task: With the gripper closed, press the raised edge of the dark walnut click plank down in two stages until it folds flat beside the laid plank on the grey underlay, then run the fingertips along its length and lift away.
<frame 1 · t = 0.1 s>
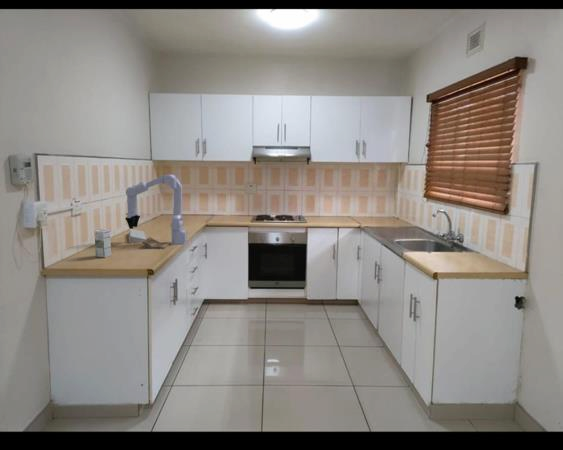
hand: (133, 227, 250), 10 cm above the counter, fingers open, 7 cm apart
laid plank: (162, 246, 241), resting on underlay
decorative molding: (137, 239, 270), on the counter
click plank: (151, 242, 241), point 3 cm above the counter, hinge at 28.0°
underlay: (156, 246, 241), on the counter
syrup box: (103, 256, 214), on the counter
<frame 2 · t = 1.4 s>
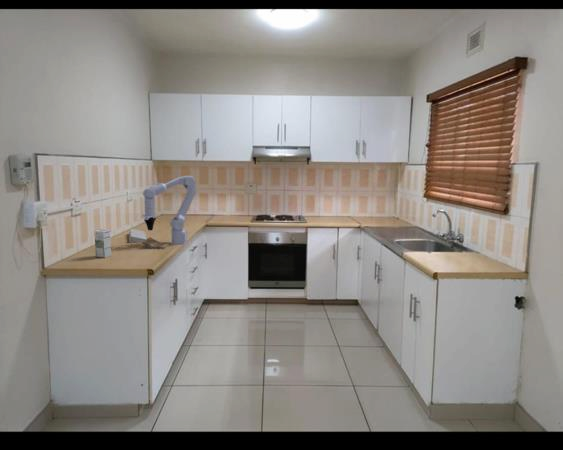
hand: (150, 230, 243), 10 cm above the counter, fingers closed
nothing on the counter moved.
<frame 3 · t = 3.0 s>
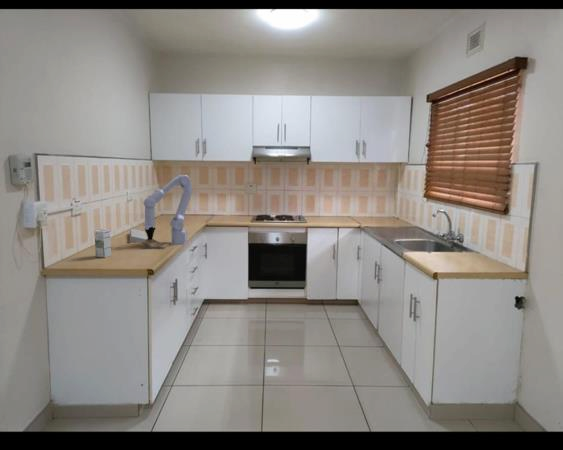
hand: (150, 239, 243), 4 cm above the counter, fingers closed, pressing on click plank
click plank: (151, 242, 241), point 3 cm above the counter, hinge at 26.0°, touching gripper
everything else where it was.
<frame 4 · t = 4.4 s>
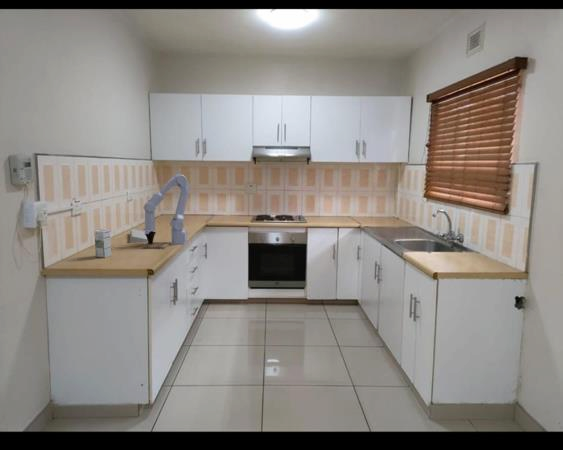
hand: (150, 243, 244), 1 cm above the counter, fingers closed, pressing on click plank
click plank: (151, 245, 241), point 1 cm above the counter, hinge at -0.1°, touching gripper, underlay
everything else where it was.
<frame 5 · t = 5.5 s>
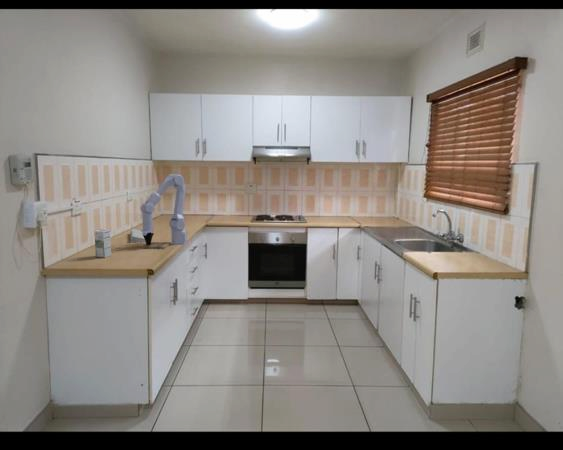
hand: (148, 245, 239), 1 cm above the counter, fingers closed, pressing on click plank
click plank: (151, 245, 241), point 1 cm above the counter, hinge at -0.1°, touching gripper, underlay
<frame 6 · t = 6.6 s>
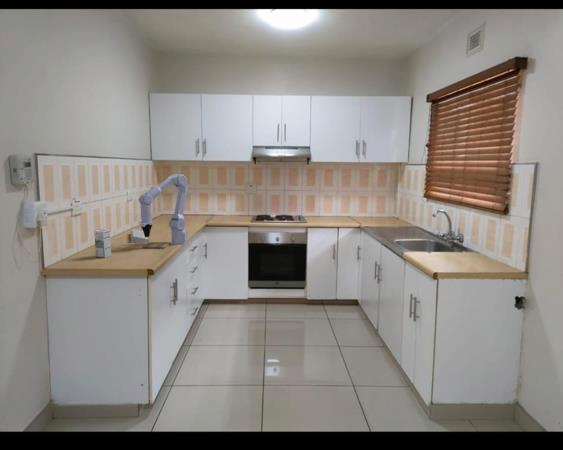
hand: (147, 237, 236), 7 cm above the counter, fingers closed
click plank: (151, 245, 241), point 1 cm above the counter, hinge at -0.1°, touching underlay
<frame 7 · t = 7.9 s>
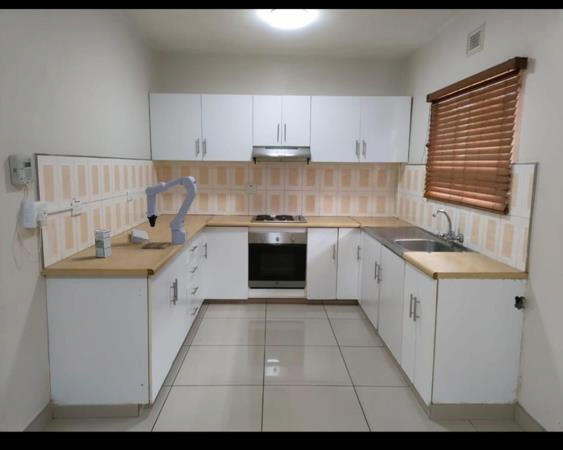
hand: (152, 226, 252), 10 cm above the counter, fingers closed
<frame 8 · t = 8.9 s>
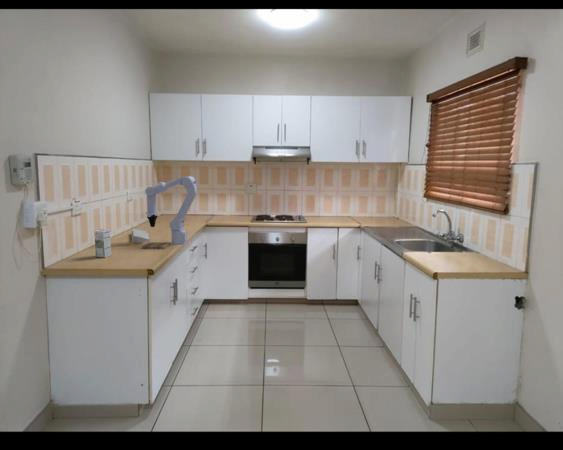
hand: (152, 226, 252), 10 cm above the counter, fingers closed
at the end: click plank at +0° (first picture: +28°); click plank touching underlay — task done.
